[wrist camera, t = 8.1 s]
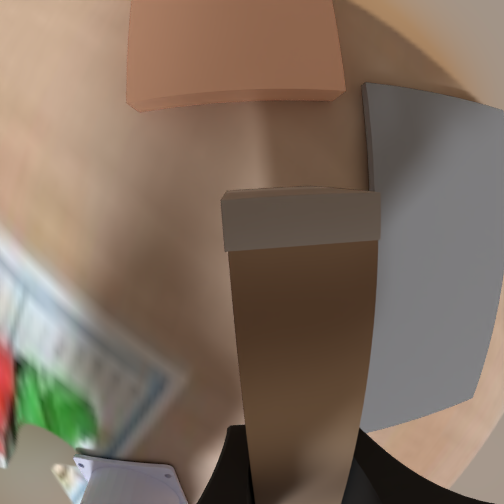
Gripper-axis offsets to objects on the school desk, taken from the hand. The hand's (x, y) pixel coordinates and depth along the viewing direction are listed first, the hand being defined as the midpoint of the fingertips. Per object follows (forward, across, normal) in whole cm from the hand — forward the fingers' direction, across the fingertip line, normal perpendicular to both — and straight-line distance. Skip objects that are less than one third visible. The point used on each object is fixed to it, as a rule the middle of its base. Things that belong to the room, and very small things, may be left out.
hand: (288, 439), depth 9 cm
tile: (+6, +1, -12) cm, 13 cm away
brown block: (+2, 0, 0) cm, 2 cm away
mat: (+7, -10, -3) cm, 12 cm away
